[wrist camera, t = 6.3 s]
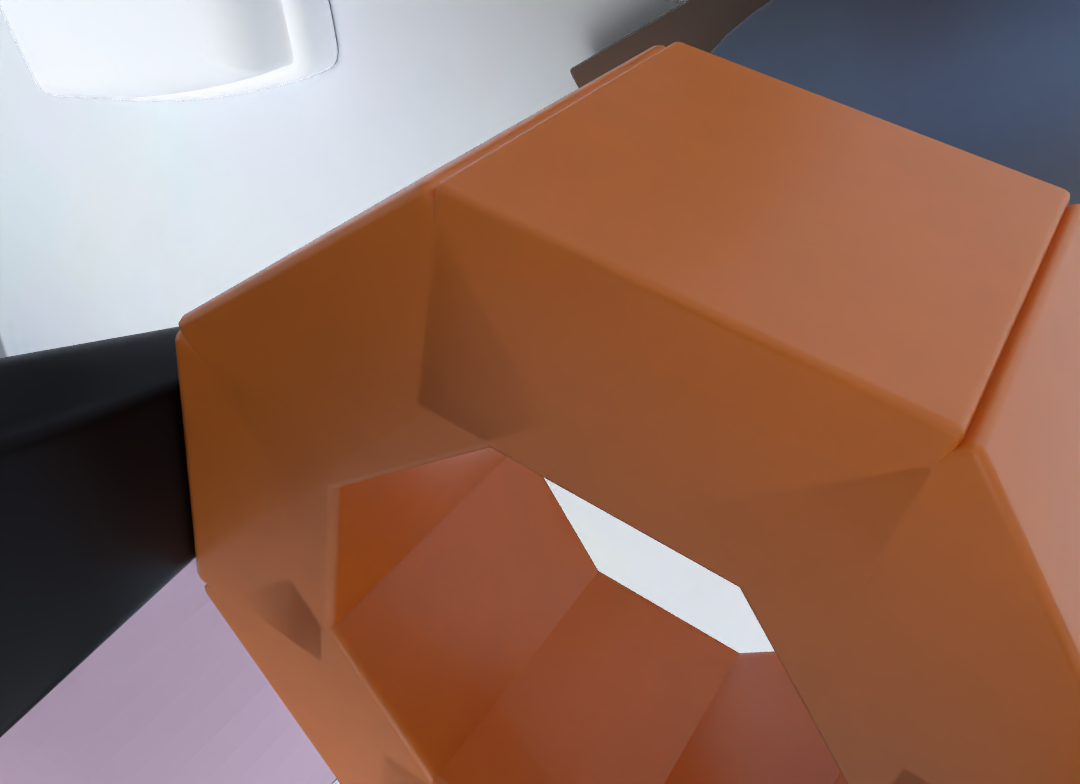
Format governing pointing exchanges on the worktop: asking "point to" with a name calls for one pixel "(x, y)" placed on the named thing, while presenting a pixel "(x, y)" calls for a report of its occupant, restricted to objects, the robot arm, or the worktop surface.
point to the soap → (170, 46)
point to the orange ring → (661, 451)
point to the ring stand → (907, 66)
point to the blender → (164, 709)
